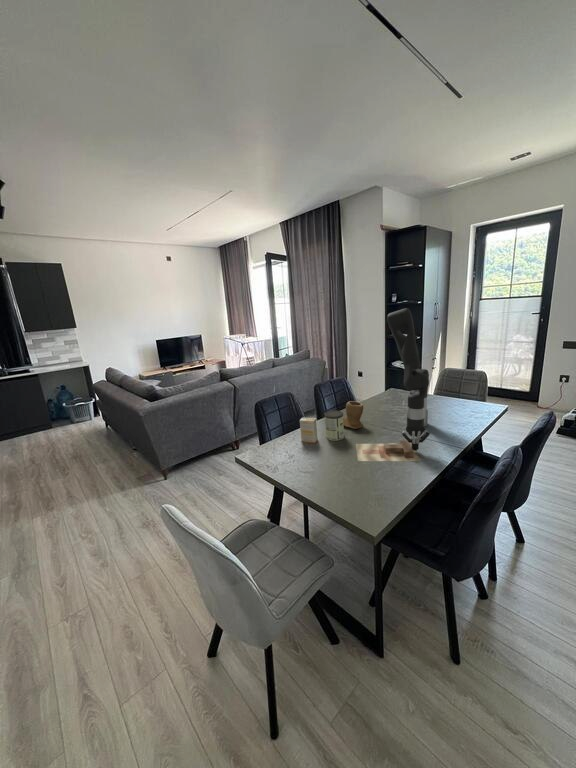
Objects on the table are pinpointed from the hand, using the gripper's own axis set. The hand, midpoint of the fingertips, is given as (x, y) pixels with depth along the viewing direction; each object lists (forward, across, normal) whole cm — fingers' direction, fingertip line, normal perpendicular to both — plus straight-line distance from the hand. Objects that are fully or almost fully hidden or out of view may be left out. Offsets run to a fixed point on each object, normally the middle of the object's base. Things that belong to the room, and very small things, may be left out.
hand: (414, 449), depth 147 cm
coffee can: (+2, +38, -20) cm, 43 cm away
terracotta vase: (+2, +28, -36) cm, 46 cm away
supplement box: (+2, +52, -16) cm, 54 cm away
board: (+2, +13, 0) cm, 13 cm away
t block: (+1, +8, 0) cm, 8 cm away
